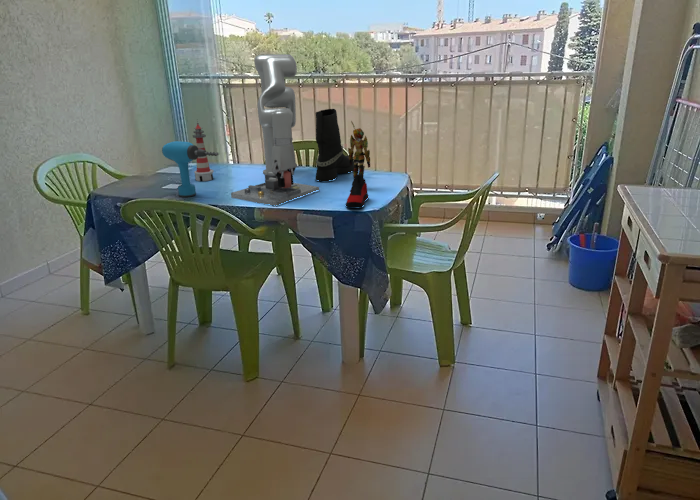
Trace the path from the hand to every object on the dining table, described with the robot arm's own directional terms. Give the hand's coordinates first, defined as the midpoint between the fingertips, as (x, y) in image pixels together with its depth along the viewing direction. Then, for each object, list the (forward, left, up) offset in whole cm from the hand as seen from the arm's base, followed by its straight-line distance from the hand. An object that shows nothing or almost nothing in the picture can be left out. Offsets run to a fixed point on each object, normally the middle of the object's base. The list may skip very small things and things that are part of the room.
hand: (285, 185), depth 214 cm
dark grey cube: (-9, -16, -4) cm, 19 cm away
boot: (-45, -8, -6) cm, 46 cm away
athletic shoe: (-9, +30, -6) cm, 32 cm away
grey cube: (-1, -8, -4) cm, 9 cm away
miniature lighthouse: (-4, -58, -6) cm, 58 cm away
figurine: (-29, +17, -6) cm, 34 cm away
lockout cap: (0, 0, -1) cm, 1 cm away
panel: (-2, -8, -6) cm, 10 cm away
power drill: (+19, -36, -6) cm, 41 cm away
